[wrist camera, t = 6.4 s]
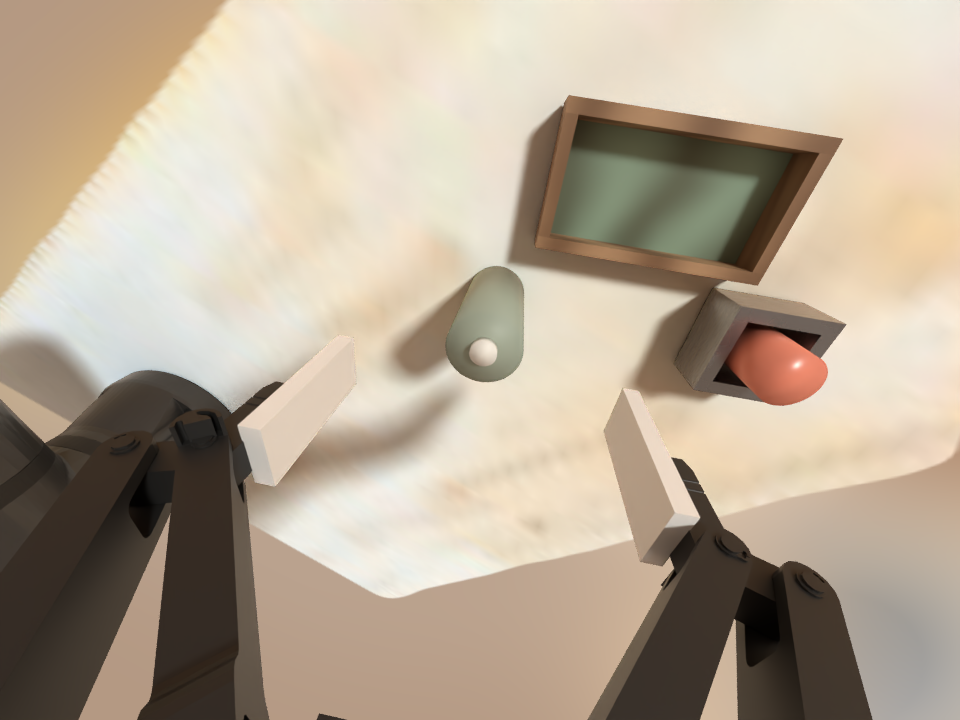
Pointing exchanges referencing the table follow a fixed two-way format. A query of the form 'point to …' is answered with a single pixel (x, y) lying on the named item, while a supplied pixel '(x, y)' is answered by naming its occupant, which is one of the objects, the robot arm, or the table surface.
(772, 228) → the wooden tray
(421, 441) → the table surface
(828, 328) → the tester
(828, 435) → the table surface
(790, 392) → the coral capsule
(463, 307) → the cell
